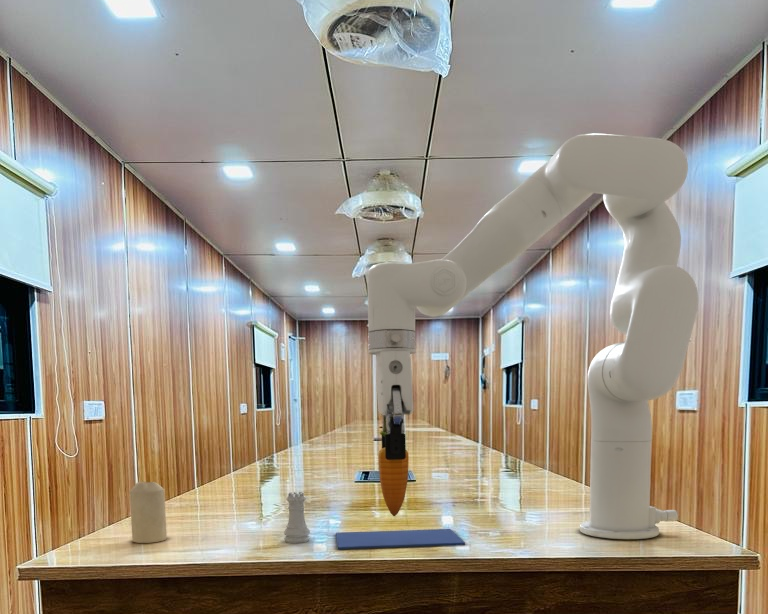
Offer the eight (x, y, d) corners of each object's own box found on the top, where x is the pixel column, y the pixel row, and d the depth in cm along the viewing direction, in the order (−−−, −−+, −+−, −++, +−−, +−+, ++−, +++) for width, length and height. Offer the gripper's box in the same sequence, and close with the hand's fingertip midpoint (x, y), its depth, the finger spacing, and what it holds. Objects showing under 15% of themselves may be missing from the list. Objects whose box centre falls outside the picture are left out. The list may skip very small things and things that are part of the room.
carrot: (406, 518, 105) (405, 424, 103) (376, 518, 106) (374, 425, 104) (411, 513, 110) (410, 424, 108) (382, 513, 111) (381, 424, 109)
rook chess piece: (316, 540, 109) (315, 492, 108) (295, 544, 106) (293, 495, 105) (299, 537, 112) (297, 490, 111) (278, 541, 109) (276, 493, 108)
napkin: (450, 531, 115) (450, 528, 115) (465, 545, 103) (465, 542, 103) (336, 534, 113) (335, 532, 113) (337, 549, 102) (337, 547, 101)
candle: (173, 538, 113) (170, 480, 112) (150, 544, 108) (146, 483, 107) (149, 536, 115) (146, 479, 114) (125, 542, 110) (121, 482, 109)
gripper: (423, 338, 97) (424, 461, 99) (408, 349, 114) (409, 454, 116) (372, 338, 96) (374, 463, 98) (364, 349, 113) (366, 455, 115)
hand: (393, 456), depth 107 cm, fingers closed on carrot, 4 cm apart
